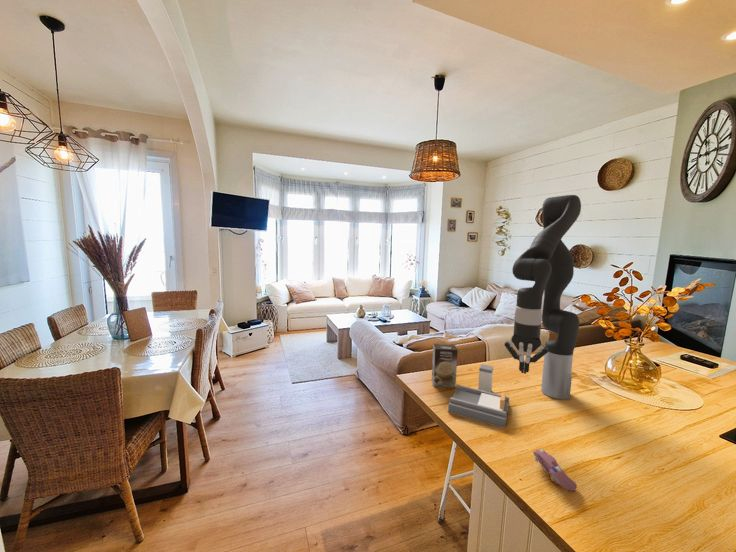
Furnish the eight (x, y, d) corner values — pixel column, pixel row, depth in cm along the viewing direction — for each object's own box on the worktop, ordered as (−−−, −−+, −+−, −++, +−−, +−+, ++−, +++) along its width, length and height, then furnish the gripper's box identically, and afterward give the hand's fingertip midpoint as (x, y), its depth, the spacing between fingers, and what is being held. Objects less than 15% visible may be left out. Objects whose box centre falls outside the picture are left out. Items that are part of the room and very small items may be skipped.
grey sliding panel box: (508, 405, 108) (509, 394, 107) (504, 428, 95) (505, 416, 94) (458, 392, 116) (458, 382, 116) (448, 412, 103) (448, 400, 103)
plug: (491, 390, 118) (493, 366, 117) (490, 395, 115) (491, 370, 114) (479, 387, 120) (481, 364, 119) (478, 392, 117) (479, 367, 116)
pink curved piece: (536, 467, 81) (527, 447, 80) (551, 460, 81) (542, 439, 80) (563, 499, 71) (553, 476, 70) (580, 490, 71) (570, 467, 70)
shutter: (505, 400, 105) (506, 390, 105) (502, 413, 97) (503, 402, 97) (481, 394, 109) (482, 385, 109) (477, 406, 101) (477, 396, 101)
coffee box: (433, 386, 121) (434, 348, 119) (431, 379, 127) (432, 343, 125) (456, 388, 120) (457, 349, 118) (453, 380, 126) (454, 344, 124)
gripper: (551, 321, 95) (546, 372, 97) (506, 315, 101) (502, 364, 104) (552, 327, 88) (547, 382, 91) (503, 320, 95) (500, 372, 97)
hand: (523, 372), depth 97 cm, fingers closed
